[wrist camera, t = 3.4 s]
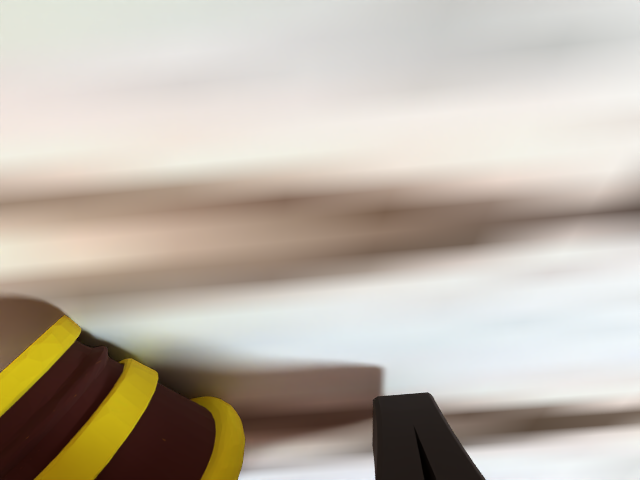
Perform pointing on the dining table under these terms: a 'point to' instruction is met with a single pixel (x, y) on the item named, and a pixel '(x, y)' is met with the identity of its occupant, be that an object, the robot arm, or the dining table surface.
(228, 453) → the opera glasses
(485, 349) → the dining table surface
